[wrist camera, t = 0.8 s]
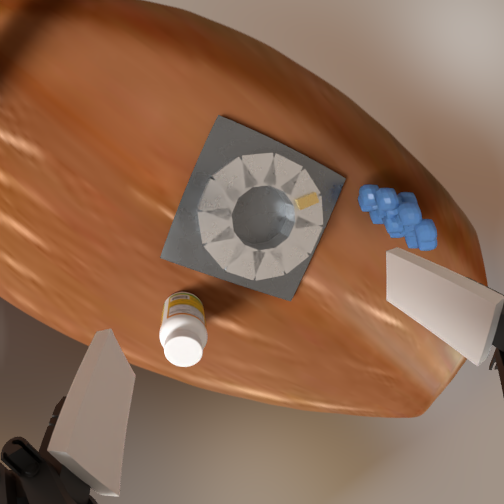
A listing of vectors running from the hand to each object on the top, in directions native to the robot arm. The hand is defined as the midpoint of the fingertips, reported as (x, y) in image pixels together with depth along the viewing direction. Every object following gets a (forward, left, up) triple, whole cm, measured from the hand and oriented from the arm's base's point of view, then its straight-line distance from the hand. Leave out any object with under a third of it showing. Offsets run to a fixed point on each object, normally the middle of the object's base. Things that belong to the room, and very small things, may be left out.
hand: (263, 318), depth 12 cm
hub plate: (+4, +3, -23) cm, 23 cm away
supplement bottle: (0, -12, -23) cm, 26 cm away
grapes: (+20, +11, -23) cm, 32 cm away
